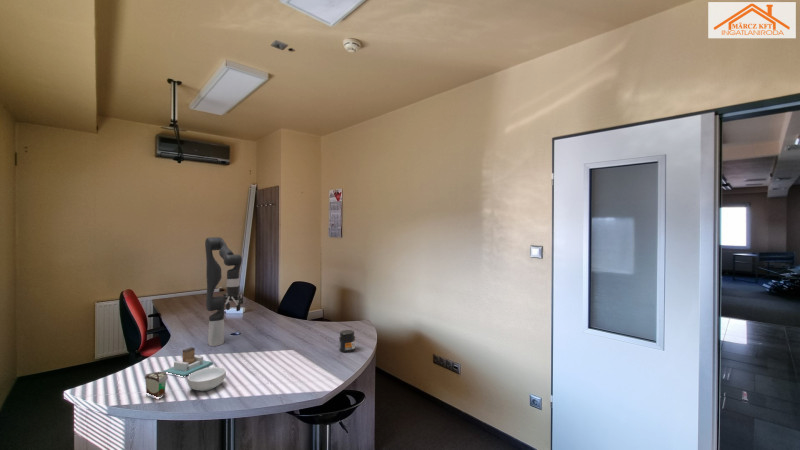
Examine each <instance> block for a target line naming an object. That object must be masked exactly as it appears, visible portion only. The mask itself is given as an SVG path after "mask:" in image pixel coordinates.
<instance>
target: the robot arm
mask: <svg viewBox="0 0 800 450" xmlns="http://www.w3.org/2000/svg"><path fill="white" fill-rule="evenodd" d="M204 245H205V248H204V249H205V258H206V275H205V276H206V300H205V302H206V304H205V306H206V307H205V308H206V310H207V311H208V312H212V311H215V312H214V313H212V314H211V315H209V316H208V331H207V345H208V346H210V347H216V346H217V347H218V346H221V345H224V343H225V309H226V311H229V310H230V309H231V302H234V303H235V305H236V306H235V307H236V308H235V309H236V310H235V311H236V312H240V310H241V305H242V304H244V299H243V297H244V295H243V294H240V271H241V270H240V269H241V265H242V261H243V258H242V256H241V254H235V253H234V252H233V251H232V249H230V248H229V247H228V246H227V243H226V242H225V240H224V239H223V238H222V237H217V236H216V237H215V236H214V237H213V236H212V237H207V238H206V239H205V240H204ZM213 251H218V254H219V256H220V258H222V259H223V265H225V266H227V267H232V268H230V269H227V271H226V293H224V294H223V296H221V295H219V296H218V295H217V296H214V292H215V291H216V288H217V286H218V284H219V283H220V282H221V279H222V267H221V265H220V264H219V263H218V261H217V260H216V259H215V257H214V254H213Z"/></svg>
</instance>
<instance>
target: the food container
mask: <svg viewBox="0 0 800 450" xmlns="http://www.w3.org/2000/svg"><path fill="white" fill-rule="evenodd" d="M144 379H145V391H146V393H149V394H151V395H154V396H156V397H161V396H162V395H164V394H165V395H166V387H167V386H166V385H167V380H168V379H169V375H167V374H166V372H163V371H156V372H151V373H147V374H145V375H144ZM146 393H145V394H146ZM165 395H164V396H165Z"/></svg>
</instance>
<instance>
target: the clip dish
mask: <svg viewBox="0 0 800 450" xmlns="http://www.w3.org/2000/svg"><path fill="white" fill-rule="evenodd" d="M213 364H214V362H213V361H209V360H204V357H203V356H201V355H195V362H194V363H192V364H189V363H187V362H183V361H181V360H175V361H174V362H173V367H169V368H167V369H165V370H163V371H162V372H168V373H172V374H176V375H180V376H183V377H184V376H186V375H189V374H191V373H194V372H196V371H198V370H201V369H205V368H209V367H210V366H213ZM183 377H182V378H183ZM186 377H187V376H186ZM184 378H185V377H184Z"/></svg>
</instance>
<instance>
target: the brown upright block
mask: <svg viewBox="0 0 800 450" xmlns="http://www.w3.org/2000/svg"><path fill="white" fill-rule="evenodd" d="M195 351H196V350H195V347H193V346H190V347H188V348H185V349H183V350H182V362H187V363H189V364H192V363H194V362H195V356H196V355H195Z"/></svg>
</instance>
